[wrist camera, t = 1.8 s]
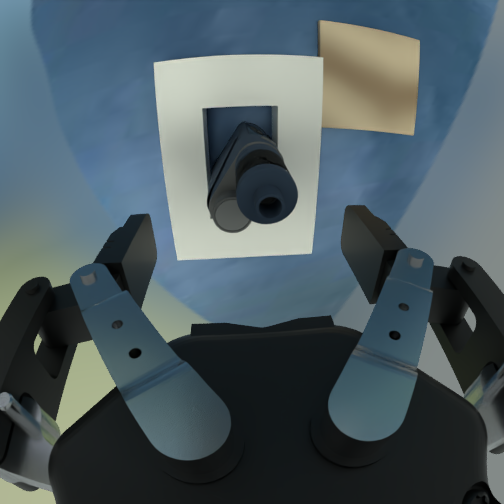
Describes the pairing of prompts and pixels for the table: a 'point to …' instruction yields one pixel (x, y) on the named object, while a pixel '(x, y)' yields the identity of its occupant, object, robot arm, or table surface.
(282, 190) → the vaping device
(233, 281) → the table surface
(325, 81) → the tan rectangular block
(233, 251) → the white cutout frame
